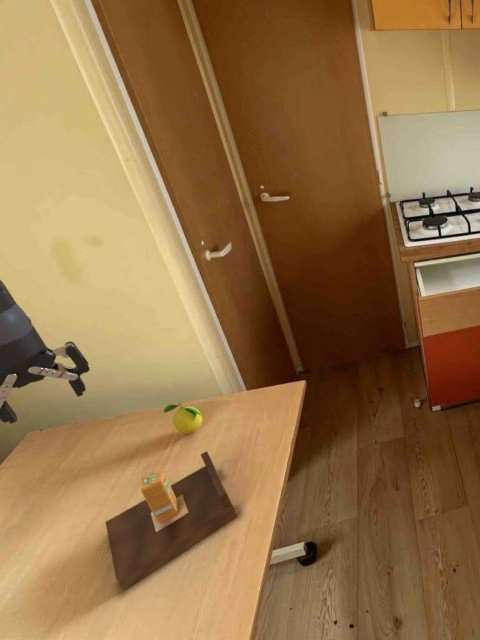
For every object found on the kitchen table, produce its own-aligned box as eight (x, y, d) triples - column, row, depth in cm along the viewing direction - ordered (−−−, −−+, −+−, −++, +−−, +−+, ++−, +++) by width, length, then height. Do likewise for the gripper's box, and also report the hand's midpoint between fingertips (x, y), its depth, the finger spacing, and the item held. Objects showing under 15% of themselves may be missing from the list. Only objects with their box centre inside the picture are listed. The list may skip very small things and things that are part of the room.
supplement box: (180, 514, 82) (161, 480, 78) (158, 524, 81) (137, 491, 76) (180, 500, 85) (161, 467, 80) (159, 510, 83) (138, 477, 79)
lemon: (173, 432, 105) (158, 403, 100) (200, 417, 109) (186, 388, 105) (183, 446, 101) (168, 416, 97) (210, 430, 105) (197, 401, 101)
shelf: (125, 590, 74) (106, 566, 71) (114, 534, 83) (97, 510, 80) (237, 516, 86) (226, 493, 83) (217, 473, 95) (206, 450, 91)
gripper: (-73, 366, 62) (-11, 442, 69) (60, 324, 71) (103, 395, 78) (-67, 344, 66) (-10, 417, 74) (58, 307, 76) (98, 376, 83)
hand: (48, 406), depth 76 cm, fingers open, 8 cm apart
